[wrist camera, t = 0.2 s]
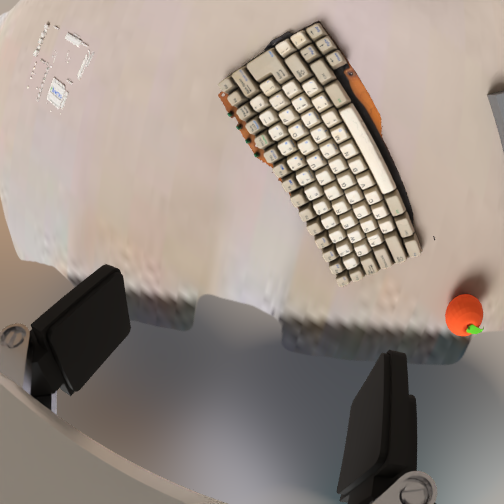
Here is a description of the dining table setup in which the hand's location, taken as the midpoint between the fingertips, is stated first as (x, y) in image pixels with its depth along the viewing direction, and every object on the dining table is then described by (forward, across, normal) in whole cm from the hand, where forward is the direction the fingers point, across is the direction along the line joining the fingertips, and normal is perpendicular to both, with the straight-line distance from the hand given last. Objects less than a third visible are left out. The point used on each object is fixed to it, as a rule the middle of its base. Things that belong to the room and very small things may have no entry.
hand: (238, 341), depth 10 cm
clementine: (+37, -29, +18) cm, 50 cm away
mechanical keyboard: (+38, 0, 0) cm, 38 cm away
